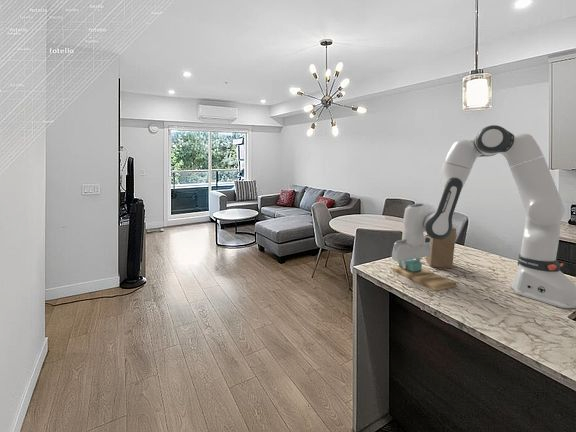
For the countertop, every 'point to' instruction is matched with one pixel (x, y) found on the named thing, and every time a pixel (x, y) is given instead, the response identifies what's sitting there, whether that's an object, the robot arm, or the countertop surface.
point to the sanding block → (412, 265)
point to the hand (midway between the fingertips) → (410, 267)
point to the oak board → (426, 278)
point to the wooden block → (442, 251)
